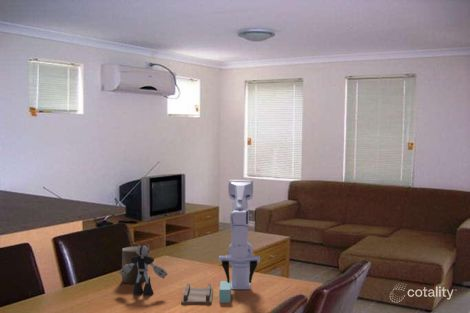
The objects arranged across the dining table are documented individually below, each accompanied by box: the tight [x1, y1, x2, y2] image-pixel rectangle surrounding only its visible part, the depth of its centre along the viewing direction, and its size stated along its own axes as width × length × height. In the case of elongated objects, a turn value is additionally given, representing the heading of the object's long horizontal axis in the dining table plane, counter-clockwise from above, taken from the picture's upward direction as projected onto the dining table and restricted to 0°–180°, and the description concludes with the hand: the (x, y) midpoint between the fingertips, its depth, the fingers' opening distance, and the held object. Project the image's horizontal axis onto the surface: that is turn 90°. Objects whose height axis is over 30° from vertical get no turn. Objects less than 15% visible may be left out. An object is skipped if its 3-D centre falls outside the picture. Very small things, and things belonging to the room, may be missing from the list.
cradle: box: [180, 283, 214, 305], centre depth 191 cm, size 16×11×3 cm
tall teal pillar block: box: [218, 280, 232, 304], centre depth 191 cm, size 12×4×5 cm, turn 179°
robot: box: [119, 241, 168, 297], centre depth 195 cm, size 20×5×20 cm, turn 78°
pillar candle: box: [121, 245, 145, 285], centre depth 212 cm, size 10×10×15 cm
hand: (239, 282), depth 178 cm, fingers open, 7 cm apart
